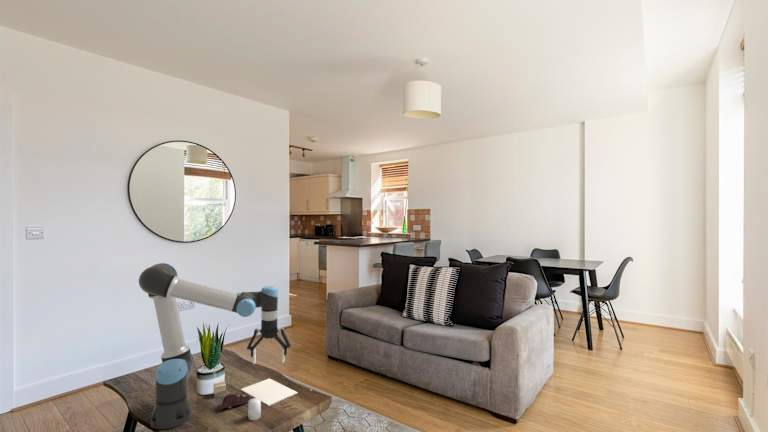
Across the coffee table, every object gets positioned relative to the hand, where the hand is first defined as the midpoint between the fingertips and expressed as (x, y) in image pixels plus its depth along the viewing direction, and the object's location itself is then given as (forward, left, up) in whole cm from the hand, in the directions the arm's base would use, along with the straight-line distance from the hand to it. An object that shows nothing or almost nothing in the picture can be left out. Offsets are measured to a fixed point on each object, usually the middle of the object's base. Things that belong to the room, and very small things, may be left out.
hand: (268, 362), depth 183 cm
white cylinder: (-23, +3, -14) cm, 27 cm away
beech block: (+1, +23, -14) cm, 27 cm away
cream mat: (0, 0, -14) cm, 14 cm away
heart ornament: (-16, +13, -15) cm, 25 cm away
